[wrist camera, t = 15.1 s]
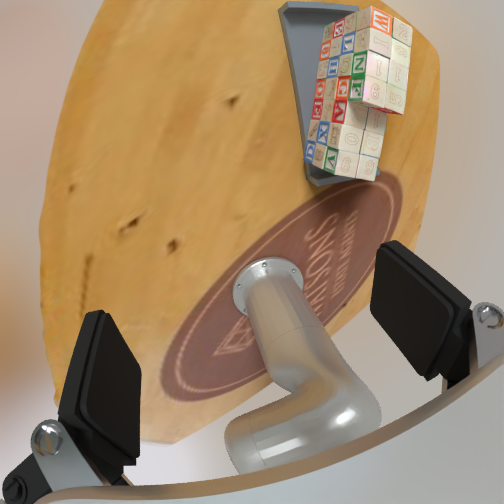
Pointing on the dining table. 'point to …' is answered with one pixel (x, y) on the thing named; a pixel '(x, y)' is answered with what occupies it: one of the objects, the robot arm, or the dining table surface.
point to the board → (309, 64)
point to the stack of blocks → (357, 91)
